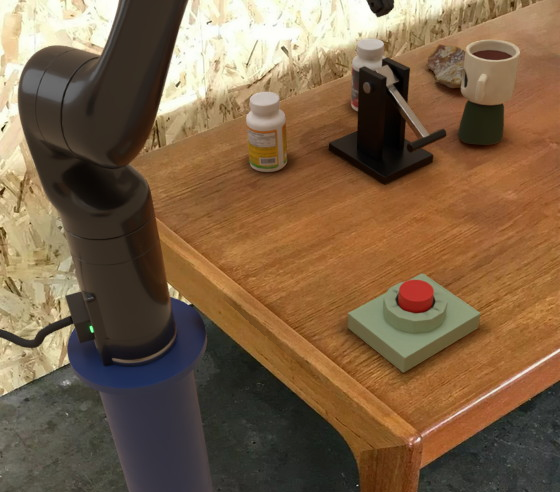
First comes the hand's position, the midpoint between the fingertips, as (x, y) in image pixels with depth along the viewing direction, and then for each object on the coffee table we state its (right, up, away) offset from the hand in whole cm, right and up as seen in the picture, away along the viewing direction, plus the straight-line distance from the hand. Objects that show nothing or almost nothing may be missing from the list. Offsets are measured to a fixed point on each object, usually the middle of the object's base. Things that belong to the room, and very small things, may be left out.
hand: (386, 12), depth 99 cm
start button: (+1, -37, -14) cm, 40 cm away
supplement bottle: (-15, -15, +14) cm, 25 cm away
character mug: (+16, -11, +16) cm, 25 cm away
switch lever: (+3, -11, +6) cm, 13 cm away
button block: (+1, -40, -12) cm, 42 cm away
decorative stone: (+16, +2, +30) cm, 34 cm away
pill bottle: (0, -4, +24) cm, 25 cm away
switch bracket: (+1, -14, +14) cm, 20 cm away
